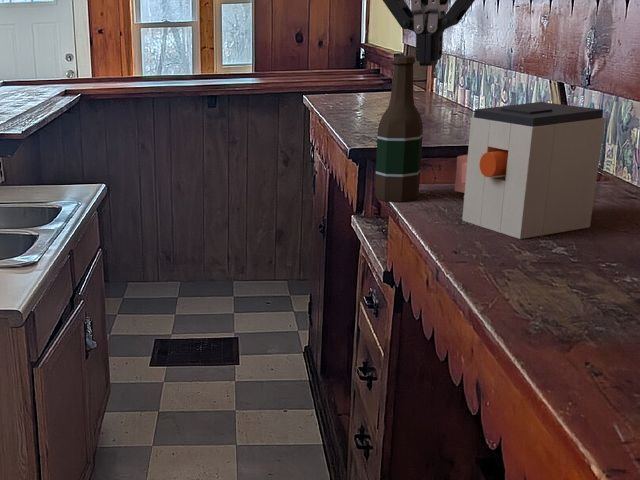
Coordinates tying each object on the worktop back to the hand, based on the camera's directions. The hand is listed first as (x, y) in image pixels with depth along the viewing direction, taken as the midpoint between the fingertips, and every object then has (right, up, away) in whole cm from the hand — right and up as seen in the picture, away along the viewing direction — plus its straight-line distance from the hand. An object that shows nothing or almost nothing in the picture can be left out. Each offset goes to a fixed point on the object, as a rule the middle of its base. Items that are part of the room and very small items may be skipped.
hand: (428, 65), depth 107 cm
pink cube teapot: (+24, -8, +44) cm, 51 cm away
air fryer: (+23, -15, +27) cm, 39 cm away
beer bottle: (+9, -8, +47) cm, 49 cm away
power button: (+17, -9, +22) cm, 29 cm away
